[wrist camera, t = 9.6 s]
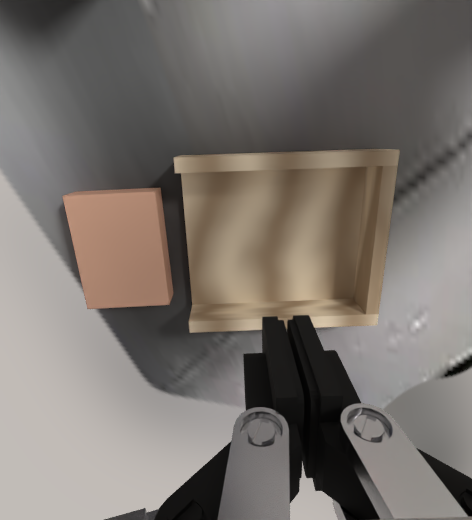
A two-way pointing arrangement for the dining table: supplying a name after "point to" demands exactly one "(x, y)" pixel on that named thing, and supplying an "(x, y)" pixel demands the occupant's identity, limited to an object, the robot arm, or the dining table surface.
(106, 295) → the cover plate
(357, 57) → the dining table surface
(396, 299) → the dining table surface
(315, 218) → the wooden tray
